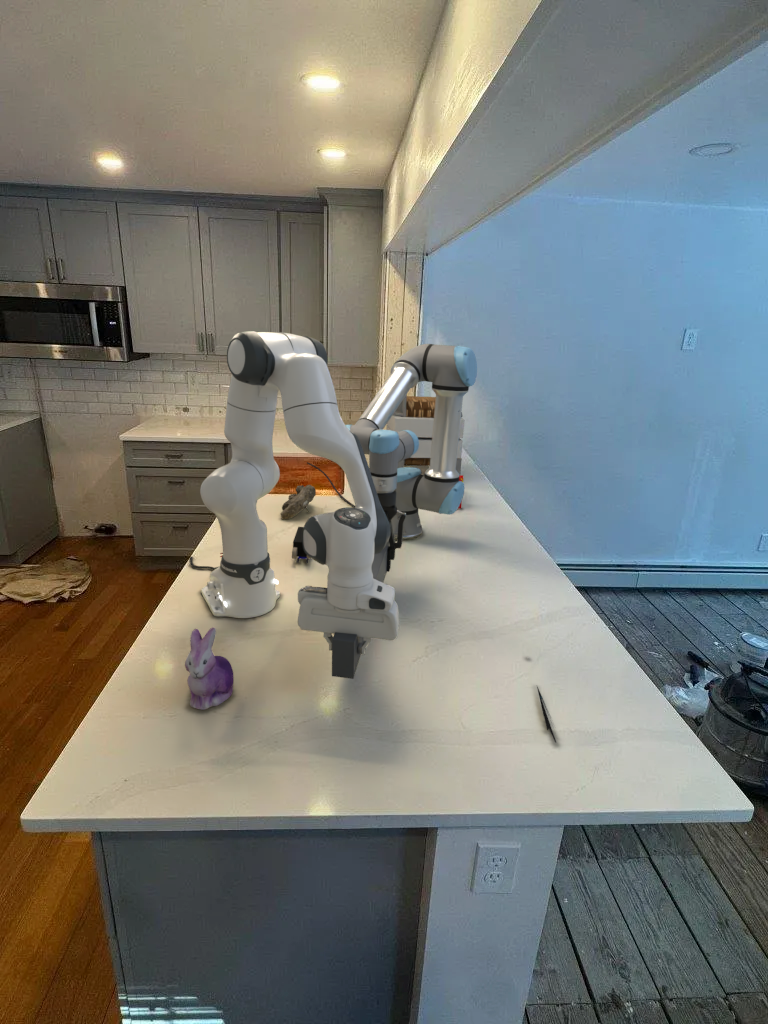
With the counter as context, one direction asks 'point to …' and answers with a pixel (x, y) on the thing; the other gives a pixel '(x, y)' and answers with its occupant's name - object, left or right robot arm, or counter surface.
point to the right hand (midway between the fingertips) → (379, 568)
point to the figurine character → (299, 547)
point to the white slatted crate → (420, 428)
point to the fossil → (298, 501)
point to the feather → (545, 714)
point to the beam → (346, 643)
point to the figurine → (207, 672)
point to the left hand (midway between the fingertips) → (347, 651)
